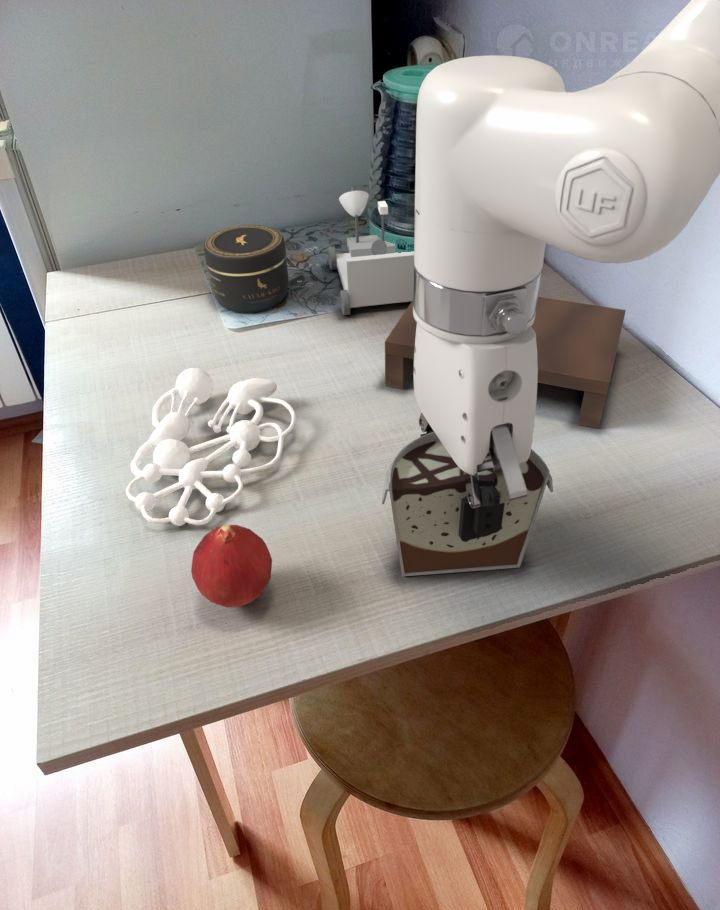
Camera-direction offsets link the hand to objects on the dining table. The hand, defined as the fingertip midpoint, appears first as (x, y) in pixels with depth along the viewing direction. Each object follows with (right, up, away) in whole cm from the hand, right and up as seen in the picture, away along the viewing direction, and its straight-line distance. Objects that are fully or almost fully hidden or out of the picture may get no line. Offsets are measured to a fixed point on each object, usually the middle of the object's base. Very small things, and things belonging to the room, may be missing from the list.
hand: (458, 499), depth 54 cm
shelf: (+8, +13, +22) cm, 27 cm away
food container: (0, -4, +3) cm, 5 cm away
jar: (-21, +24, +36) cm, 48 cm away
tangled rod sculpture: (-21, +4, +13) cm, 25 cm away
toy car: (-5, +26, +39) cm, 47 cm away
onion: (-17, -8, 0) cm, 19 cm away
